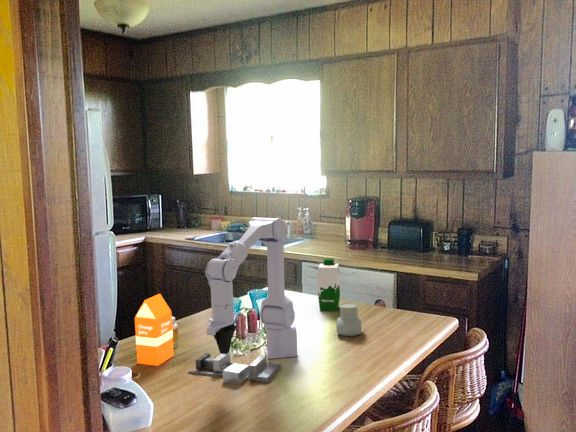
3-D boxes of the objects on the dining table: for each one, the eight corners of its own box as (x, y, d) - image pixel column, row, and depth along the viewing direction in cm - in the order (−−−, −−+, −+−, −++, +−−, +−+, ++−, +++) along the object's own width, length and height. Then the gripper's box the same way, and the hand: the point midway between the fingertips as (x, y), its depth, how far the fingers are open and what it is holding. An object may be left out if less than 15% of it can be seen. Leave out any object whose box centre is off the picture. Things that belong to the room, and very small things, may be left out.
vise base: (280, 369, 157) (280, 356, 156) (267, 382, 147) (267, 368, 147) (205, 360, 165) (204, 347, 165) (188, 372, 156) (187, 359, 156)
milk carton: (340, 305, 222) (340, 258, 219) (339, 312, 213) (338, 262, 211) (319, 305, 223) (318, 258, 221) (317, 311, 214) (316, 262, 212)
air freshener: (338, 328, 192) (337, 301, 191) (361, 329, 191) (361, 301, 190) (336, 338, 182) (335, 310, 181) (360, 339, 180) (360, 310, 179)
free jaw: (230, 365, 161) (230, 352, 160) (219, 374, 154) (219, 360, 154) (206, 362, 163) (206, 349, 163) (195, 371, 157) (194, 357, 156)
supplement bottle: (180, 343, 182) (178, 315, 181) (177, 348, 176) (175, 320, 175) (164, 343, 182) (162, 315, 181) (160, 349, 176) (159, 320, 175)
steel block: (249, 377, 152) (249, 365, 152) (238, 385, 147) (238, 373, 147) (234, 374, 154) (233, 362, 154) (223, 382, 149) (222, 370, 149)
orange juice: (136, 363, 165) (133, 299, 163) (153, 353, 173) (150, 292, 171) (158, 365, 162) (155, 301, 160) (174, 355, 170) (171, 294, 168)
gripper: (221, 295, 150) (223, 342, 152) (195, 309, 137) (197, 361, 138) (244, 297, 148) (246, 345, 149) (220, 311, 134) (222, 364, 136)
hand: (224, 353), depth 144 cm, fingers closed
